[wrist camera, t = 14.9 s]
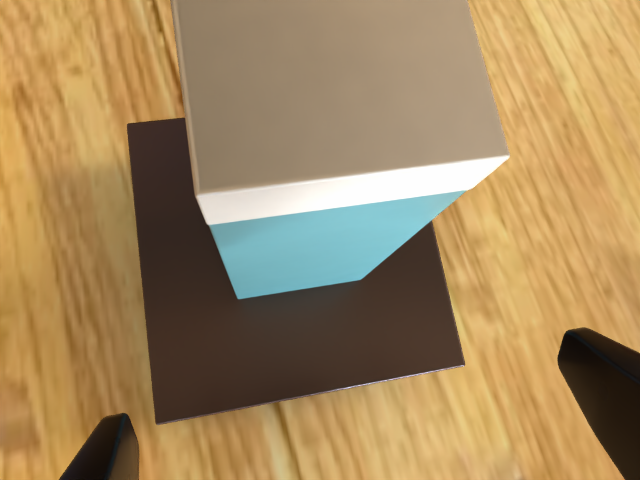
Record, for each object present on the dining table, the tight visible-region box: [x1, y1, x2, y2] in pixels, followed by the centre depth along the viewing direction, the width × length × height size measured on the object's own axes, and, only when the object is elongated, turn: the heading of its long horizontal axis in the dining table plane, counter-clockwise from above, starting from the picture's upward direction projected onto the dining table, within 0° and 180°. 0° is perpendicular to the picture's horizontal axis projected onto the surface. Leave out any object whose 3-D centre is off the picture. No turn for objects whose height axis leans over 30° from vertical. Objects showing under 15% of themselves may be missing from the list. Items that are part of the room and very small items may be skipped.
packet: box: [170, 0, 510, 299], centre depth 14 cm, size 4×5×12 cm
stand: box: [127, 118, 465, 425], centre depth 22 cm, size 12×12×4 cm
